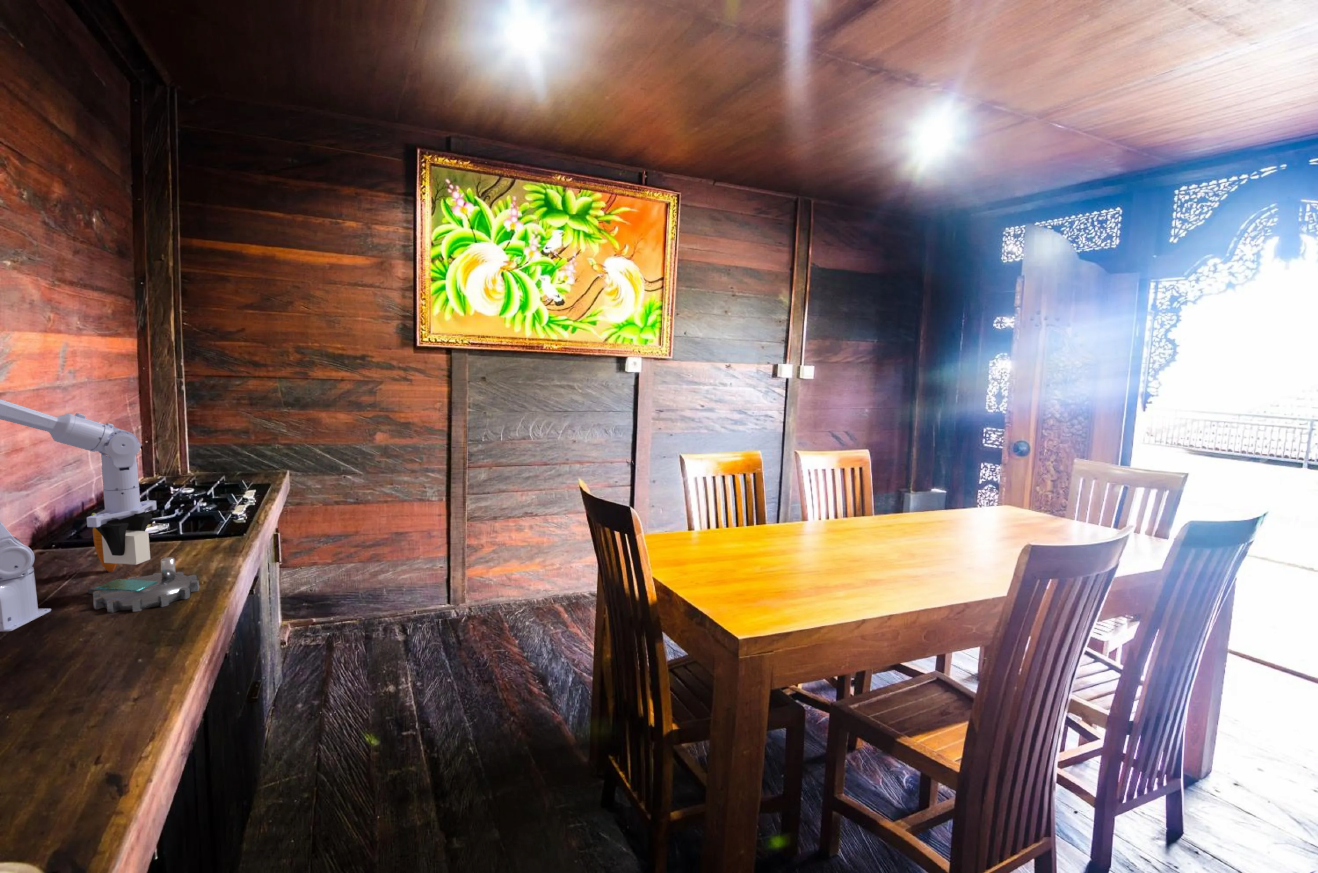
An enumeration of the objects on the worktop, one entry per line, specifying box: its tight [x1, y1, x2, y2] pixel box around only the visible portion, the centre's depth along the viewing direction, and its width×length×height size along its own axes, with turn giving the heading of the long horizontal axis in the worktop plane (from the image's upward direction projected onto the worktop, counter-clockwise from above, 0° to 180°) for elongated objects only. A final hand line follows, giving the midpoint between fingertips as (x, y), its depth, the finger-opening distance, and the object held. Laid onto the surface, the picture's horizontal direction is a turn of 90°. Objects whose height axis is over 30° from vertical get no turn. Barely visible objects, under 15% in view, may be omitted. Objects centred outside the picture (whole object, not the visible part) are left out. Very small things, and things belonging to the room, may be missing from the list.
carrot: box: [91, 511, 118, 573], centre depth 150 cm, size 5×5×15 cm
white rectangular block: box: [102, 530, 151, 566], centre depth 139 cm, size 7×4×6 cm, turn 86°
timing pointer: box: [87, 586, 103, 595], centre depth 139 cm, size 3×1×1 cm, turn 86°
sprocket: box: [92, 556, 200, 614], centre depth 138 cm, size 17×17×6 cm
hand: (126, 552), depth 139 cm, fingers closed on white rectangular block, 3 cm apart
